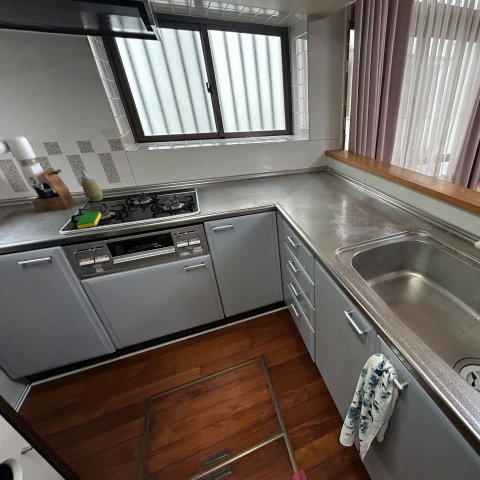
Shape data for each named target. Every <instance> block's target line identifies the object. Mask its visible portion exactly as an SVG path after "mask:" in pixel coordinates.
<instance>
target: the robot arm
mask: <svg viewBox="0 0 480 480" xmlns="http://www.w3.org/2000/svg"><path fill="white" fill-rule="evenodd" d="M10 152H11V153H12V156H13V157H14V159H15V160H16V162H17V164H18V166H19V167H20V169H21V172H22V175H23V177H24V179H25V181H26V183H27V184H28V186H30V187H31V188H32V190H34V191H35V193H36V195H37V194H38V195H37V197H38V196H39V198H43V197H47V195H46V193H45V191H44V189H53V188H52V186H51V185H50V184H49V183H48V181H47V180H46V179H45V178H44V176H43V175H42V174H41V173H42V172H44V171H45V170H44V169H43V168H42V166H41V165H40V164H41V163H40V161H39V159H38V158H37V156H36V154H35V152H34V150H33V147H32V146H31V145H30V143H29V140H28V139H27V138H26V137H25V136H21V135H18V136H17V135H16V136H9V137H6V136H4V137H3V136H0V156H2V155H4V154H7V153H10Z"/></svg>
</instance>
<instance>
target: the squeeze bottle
mask: <svg viewBox="0 0 480 480" xmlns="http://www.w3.org/2000/svg"><path fill="white" fill-rule="evenodd" d="M81 175H82V176H81V177H80V180H81V181H80V184H81V188H82V190H83V193H84V196H85V197H86V198H87V200H88V201H90V202H91V203H93V202H100V201H102V200H103V191H102V189H101V188H100V186H99V184H98V182H97V181H96V179H94V178H92V175H89V174H88V173H87V172H86V170H85V169H81Z"/></svg>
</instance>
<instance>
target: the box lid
mask: <svg viewBox="0 0 480 480" xmlns="http://www.w3.org/2000/svg"><path fill="white" fill-rule="evenodd" d="M43 171H44V172H42V173H41V174H42V175H43V176H44V178H45V179H46V180H47V181H48V183H49V184H50V186H51V188H52V189H53V190H54V192H56V193H57V194H58V195H59V197H61V196H62V195H63V194H65V193H66V192H67V191H70V189H69V187H68V186H67V185H66V183H65V182H64V180H63V179H62V178H61V177H60V175H59V174H60V173H62V170H61V169H60V168H58V169H56V170H55V169H54V167H50V168H48V169H46V170H43Z"/></svg>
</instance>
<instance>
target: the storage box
mask: <svg viewBox="0 0 480 480" xmlns="http://www.w3.org/2000/svg"><path fill="white" fill-rule="evenodd" d="M54 192H55V191H54ZM31 203H32V205H33V206H34V208H35V209H36V211H37V213H39V214H40V213H48V212H54V211H55V212H56V211H61V210H67V209H69V207H71V206H72V205H73V204H74V203H75V200H74V197H73V196H72V194H71V191H70V190H68V191H67V192H66V193H65V194H63V195H62V196H61V197H59V195H58V194H57V193H56V192H55V194H54V195H53V196H50V197H46V198H39V197H38V196H36V197H35V198H34V199H32V200H31Z"/></svg>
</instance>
